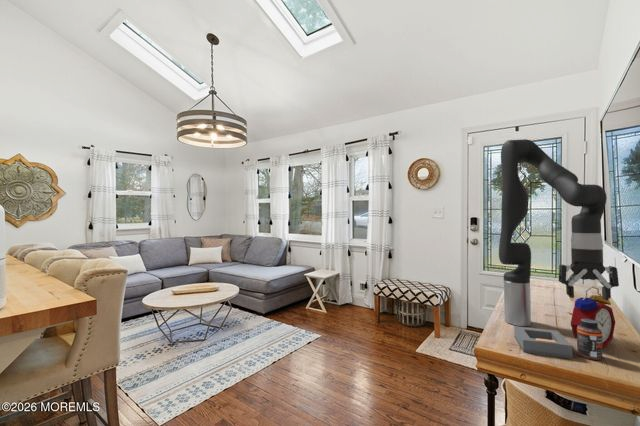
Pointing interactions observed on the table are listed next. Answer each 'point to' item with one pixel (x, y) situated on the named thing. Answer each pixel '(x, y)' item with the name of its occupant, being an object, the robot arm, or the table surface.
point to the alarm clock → (594, 315)
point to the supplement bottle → (589, 340)
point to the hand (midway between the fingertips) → (588, 298)
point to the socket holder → (542, 342)
